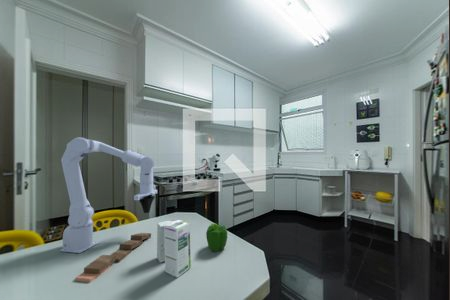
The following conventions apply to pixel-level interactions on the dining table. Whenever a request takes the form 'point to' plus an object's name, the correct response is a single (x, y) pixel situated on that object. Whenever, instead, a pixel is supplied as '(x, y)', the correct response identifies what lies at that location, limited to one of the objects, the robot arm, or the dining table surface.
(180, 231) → the syrup box
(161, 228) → the skincare box
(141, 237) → the domino
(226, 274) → the dining table surface
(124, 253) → the domino
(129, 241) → the domino
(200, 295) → the dining table surface
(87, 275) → the domino
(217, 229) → the bell pepper
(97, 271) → the domino
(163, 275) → the dining table surface
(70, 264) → the dining table surface
